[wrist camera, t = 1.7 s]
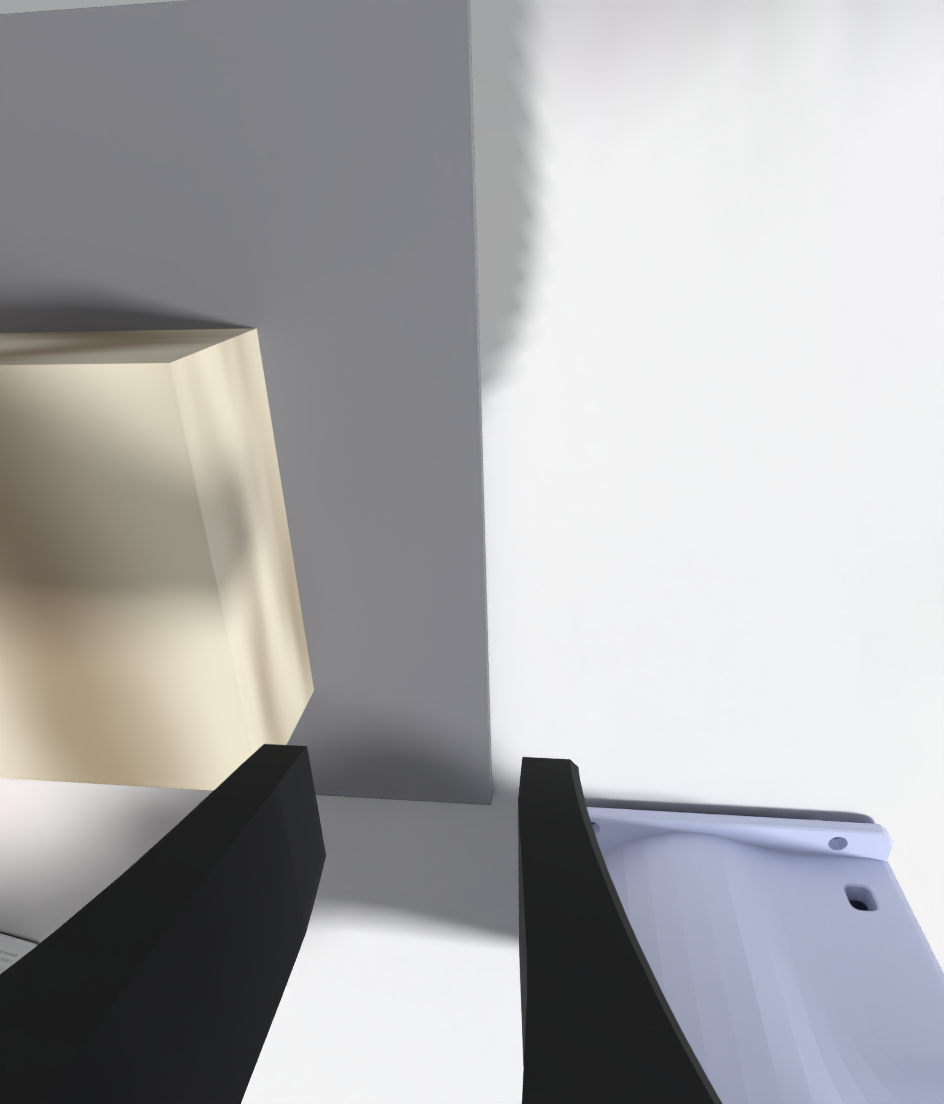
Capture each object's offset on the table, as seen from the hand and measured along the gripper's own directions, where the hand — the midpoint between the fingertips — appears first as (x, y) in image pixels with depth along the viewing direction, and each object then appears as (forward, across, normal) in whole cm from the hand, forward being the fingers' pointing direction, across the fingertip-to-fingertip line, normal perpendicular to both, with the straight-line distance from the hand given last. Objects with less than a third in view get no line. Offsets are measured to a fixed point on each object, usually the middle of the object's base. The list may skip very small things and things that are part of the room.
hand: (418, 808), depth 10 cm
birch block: (+9, +9, 0) cm, 13 cm away
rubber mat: (+9, +12, -1) cm, 16 cm away
